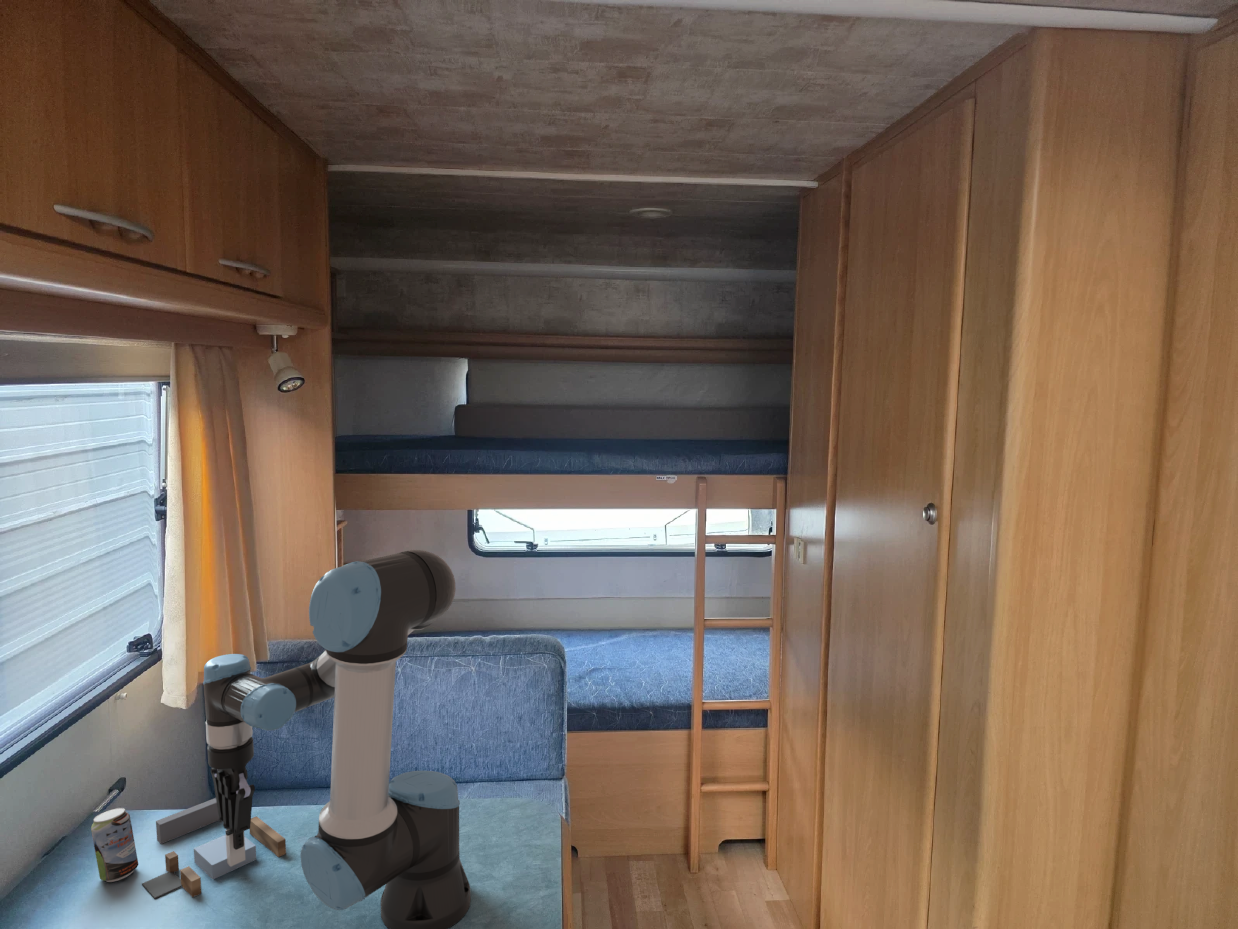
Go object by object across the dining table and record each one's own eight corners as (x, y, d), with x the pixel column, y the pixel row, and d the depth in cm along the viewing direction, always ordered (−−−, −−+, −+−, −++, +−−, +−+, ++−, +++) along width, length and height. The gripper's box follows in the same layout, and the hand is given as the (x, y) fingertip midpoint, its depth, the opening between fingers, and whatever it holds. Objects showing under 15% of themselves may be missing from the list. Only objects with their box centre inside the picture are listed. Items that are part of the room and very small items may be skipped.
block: (256, 860, 150) (255, 845, 149) (212, 880, 144) (211, 865, 143) (237, 844, 155) (236, 830, 154) (194, 863, 149) (193, 848, 148)
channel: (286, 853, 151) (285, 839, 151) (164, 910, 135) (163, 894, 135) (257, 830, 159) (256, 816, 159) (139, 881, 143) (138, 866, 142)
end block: (223, 818, 163) (222, 800, 163) (160, 844, 154) (159, 824, 154) (219, 814, 165) (218, 796, 164) (157, 840, 156) (155, 821, 155)
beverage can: (120, 889, 141) (115, 825, 139) (85, 883, 142) (80, 820, 141) (147, 867, 147) (143, 806, 146) (114, 862, 148) (109, 802, 147)
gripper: (267, 744, 142) (272, 866, 145) (235, 723, 150) (240, 839, 153) (224, 759, 136) (231, 886, 139) (193, 736, 145) (200, 857, 147)
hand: (236, 861), depth 146 cm, fingers closed
